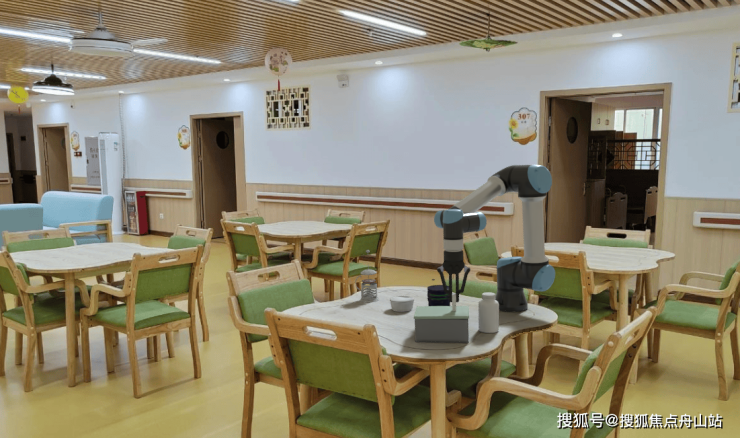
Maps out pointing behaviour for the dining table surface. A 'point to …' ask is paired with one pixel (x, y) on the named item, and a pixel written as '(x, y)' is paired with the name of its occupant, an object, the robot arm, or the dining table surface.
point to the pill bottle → (488, 313)
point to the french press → (368, 286)
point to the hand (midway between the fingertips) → (454, 310)
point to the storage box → (442, 330)
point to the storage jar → (437, 296)
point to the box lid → (441, 312)
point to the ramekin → (401, 303)
